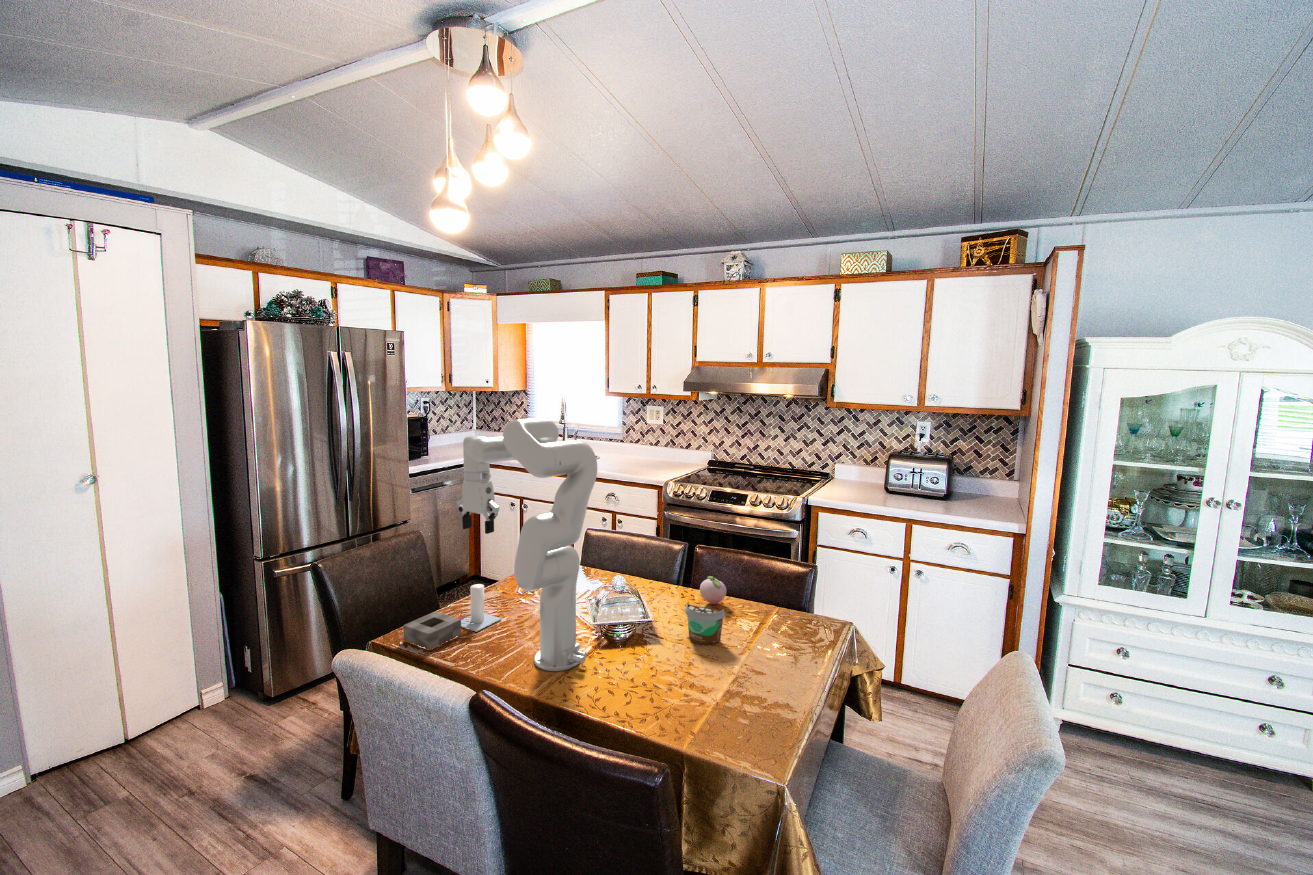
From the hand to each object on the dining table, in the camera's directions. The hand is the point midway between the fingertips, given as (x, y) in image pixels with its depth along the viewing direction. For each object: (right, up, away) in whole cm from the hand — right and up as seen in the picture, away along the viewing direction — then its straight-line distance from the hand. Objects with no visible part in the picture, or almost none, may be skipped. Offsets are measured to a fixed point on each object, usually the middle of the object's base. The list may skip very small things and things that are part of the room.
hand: (478, 530), depth 172 cm
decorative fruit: (+74, -28, +15) cm, 81 cm away
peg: (0, -28, -1) cm, 28 cm away
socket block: (-9, -30, -11) cm, 33 cm away
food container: (+68, -31, -11) cm, 76 cm away
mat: (0, -29, 0) cm, 29 cm away
